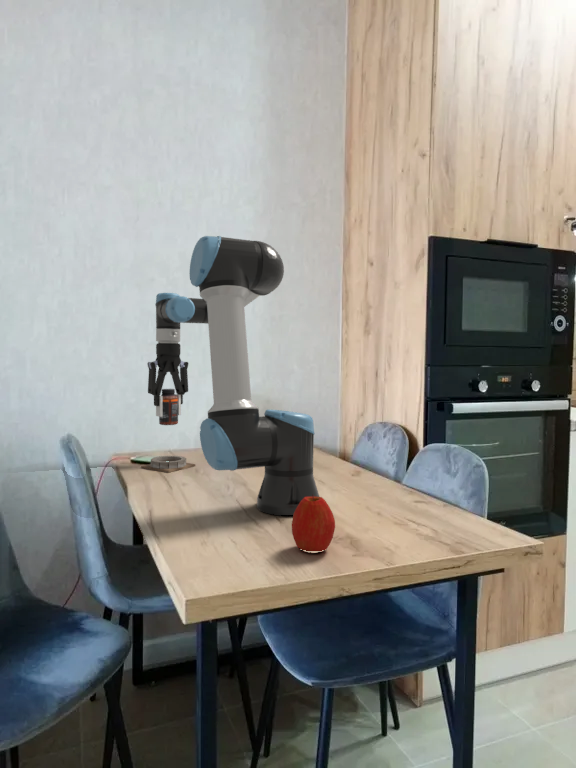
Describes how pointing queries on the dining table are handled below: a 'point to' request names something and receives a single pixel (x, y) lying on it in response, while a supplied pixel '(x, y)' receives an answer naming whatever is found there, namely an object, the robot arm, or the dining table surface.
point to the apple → (313, 524)
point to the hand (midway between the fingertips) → (168, 415)
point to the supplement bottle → (169, 408)
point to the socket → (168, 464)
